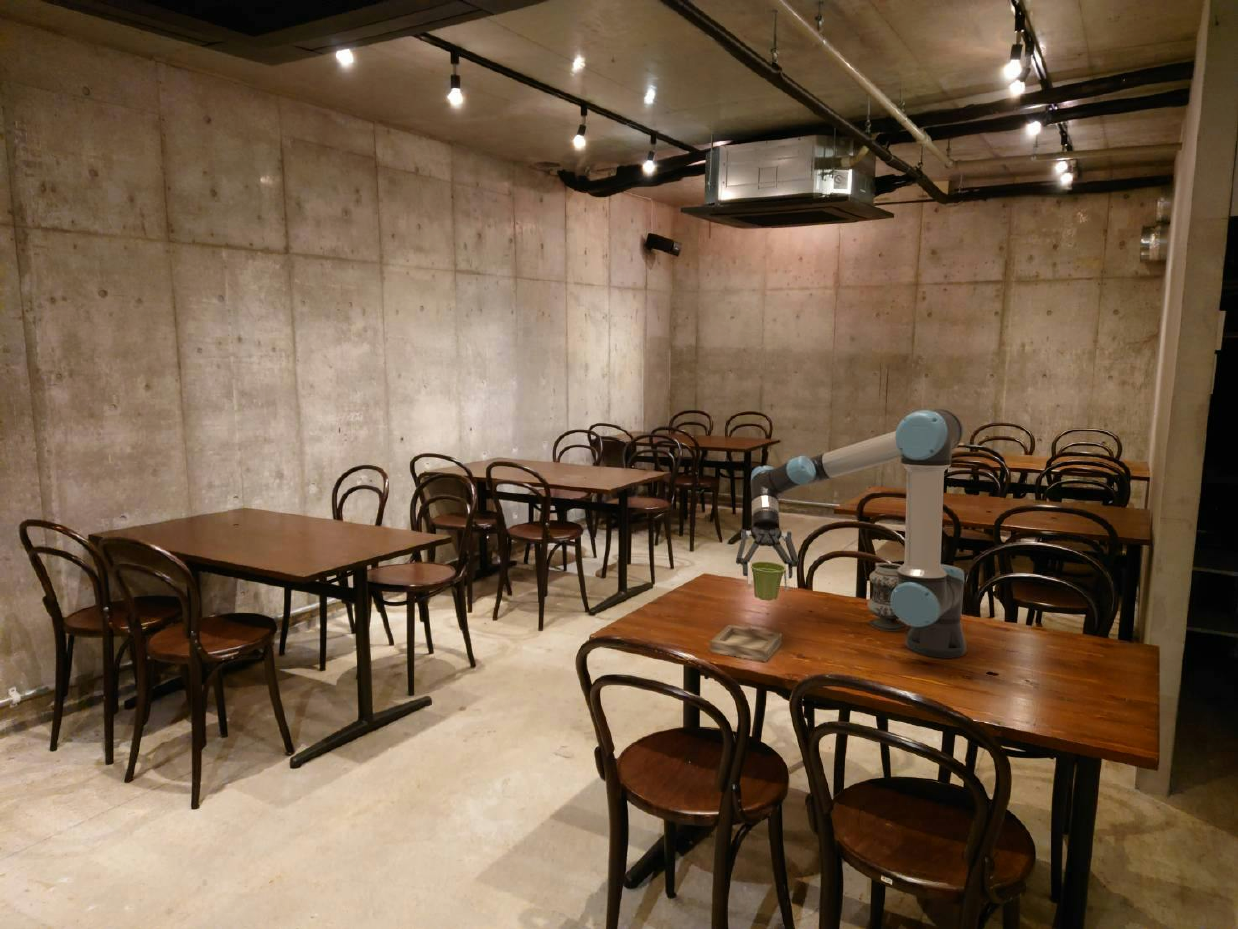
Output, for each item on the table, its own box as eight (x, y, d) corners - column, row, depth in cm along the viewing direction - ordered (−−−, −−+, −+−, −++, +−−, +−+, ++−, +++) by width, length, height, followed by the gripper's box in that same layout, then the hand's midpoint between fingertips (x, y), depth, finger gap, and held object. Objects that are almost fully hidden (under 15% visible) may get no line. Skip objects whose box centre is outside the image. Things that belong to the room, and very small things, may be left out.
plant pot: (782, 593, 214) (784, 562, 213) (785, 604, 205) (787, 572, 204) (748, 590, 216) (749, 560, 214) (749, 601, 206) (751, 570, 205)
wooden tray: (781, 644, 212) (781, 633, 211) (765, 662, 199) (766, 651, 198) (728, 634, 218) (729, 624, 218) (710, 652, 205) (710, 641, 205)
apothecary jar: (901, 619, 234) (905, 561, 232) (915, 633, 222) (920, 572, 220) (861, 618, 235) (864, 560, 232) (873, 632, 223) (877, 571, 220)
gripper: (802, 524, 222) (807, 596, 209) (725, 521, 224) (725, 591, 211) (806, 510, 216) (812, 582, 203) (727, 506, 218) (727, 578, 204)
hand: (768, 587), depth 207 cm, fingers closed on plant pot, 9 cm apart
